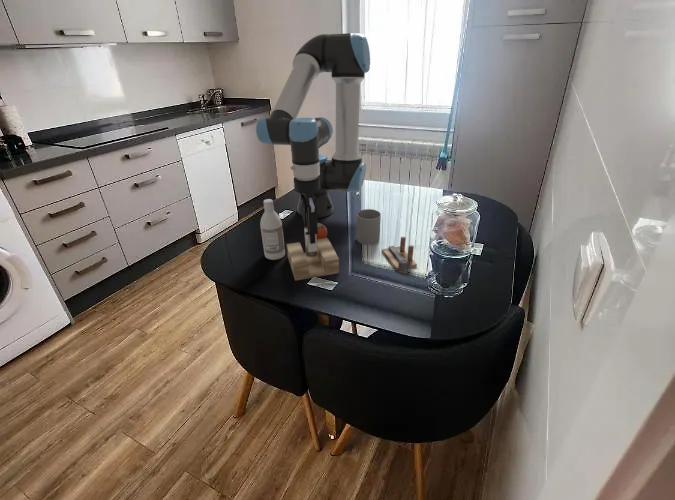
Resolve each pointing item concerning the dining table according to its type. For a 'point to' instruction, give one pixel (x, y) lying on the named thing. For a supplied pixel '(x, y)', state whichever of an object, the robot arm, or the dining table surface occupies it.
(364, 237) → the cup
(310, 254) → the pin
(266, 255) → the bath foam
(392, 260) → the peg rack
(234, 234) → the dining table surface
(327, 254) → the slot block
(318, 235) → the tomato
